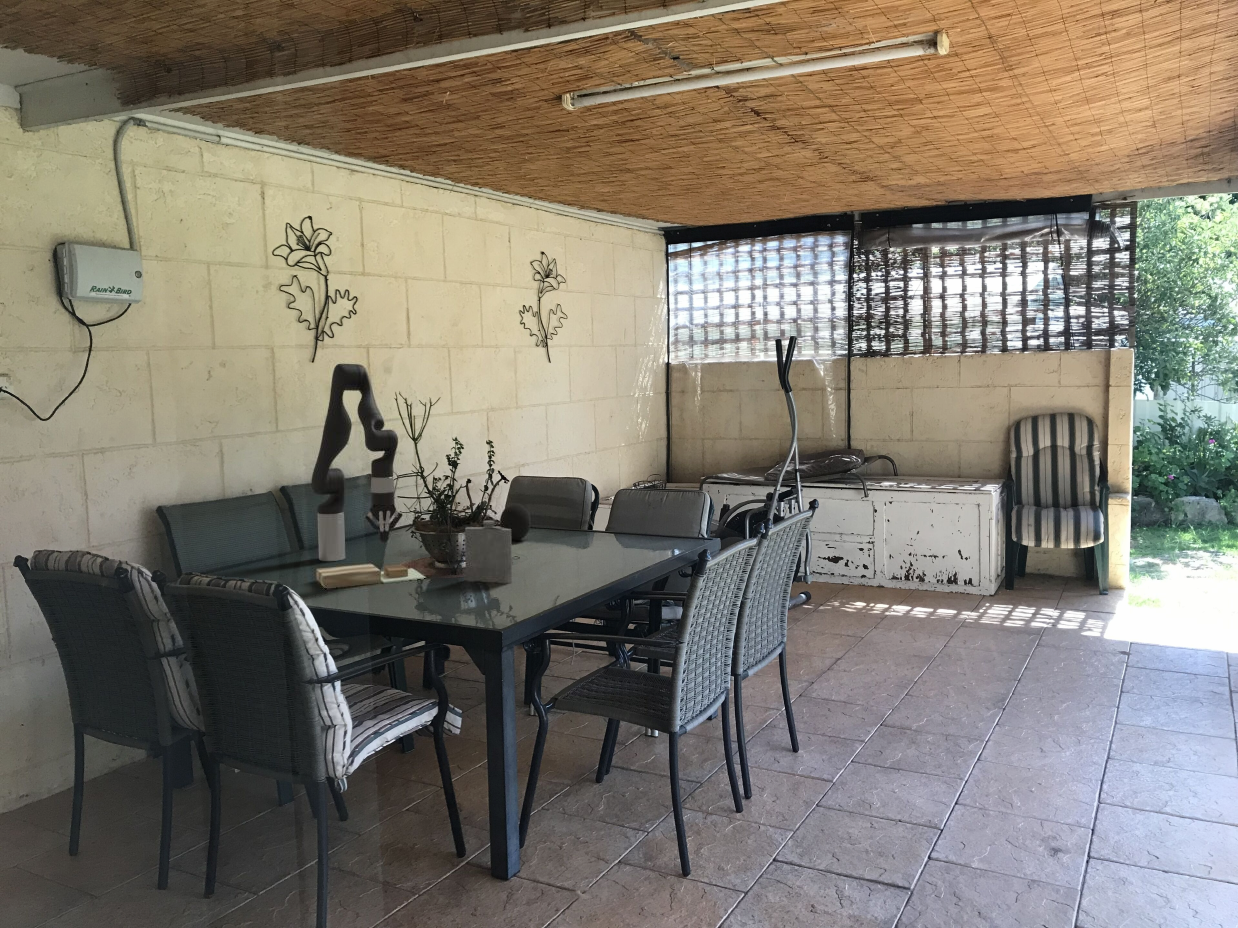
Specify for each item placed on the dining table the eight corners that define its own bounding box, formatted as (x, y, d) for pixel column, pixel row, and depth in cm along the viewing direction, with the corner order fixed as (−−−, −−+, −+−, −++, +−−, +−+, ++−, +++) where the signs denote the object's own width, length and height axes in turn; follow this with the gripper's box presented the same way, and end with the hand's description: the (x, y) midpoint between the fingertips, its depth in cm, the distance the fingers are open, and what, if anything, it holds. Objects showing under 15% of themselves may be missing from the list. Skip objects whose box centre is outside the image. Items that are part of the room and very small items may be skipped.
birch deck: (316, 580, 325) (316, 568, 324) (371, 575, 333) (371, 563, 332) (324, 588, 313) (324, 576, 313) (381, 582, 321) (380, 570, 321)
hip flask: (464, 581, 323) (463, 520, 321) (469, 578, 327) (468, 519, 325) (509, 583, 319) (508, 522, 317) (514, 581, 323) (513, 520, 321)
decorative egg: (496, 539, 400) (495, 502, 398) (524, 536, 405) (524, 500, 403) (505, 544, 389) (505, 506, 387) (535, 541, 394) (534, 504, 392)
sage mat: (371, 574, 334) (371, 572, 334) (412, 570, 341) (412, 568, 341) (383, 583, 320) (383, 581, 320) (425, 578, 327) (425, 577, 327)
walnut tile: (401, 564, 335) (401, 571, 335) (383, 566, 332) (384, 573, 332) (407, 568, 328) (408, 576, 328) (389, 570, 325) (390, 578, 325)
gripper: (399, 487, 332) (400, 538, 334) (359, 490, 326) (361, 541, 328) (405, 490, 325) (406, 542, 327) (365, 492, 319) (366, 545, 321)
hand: (383, 541), depth 327 cm, fingers closed
